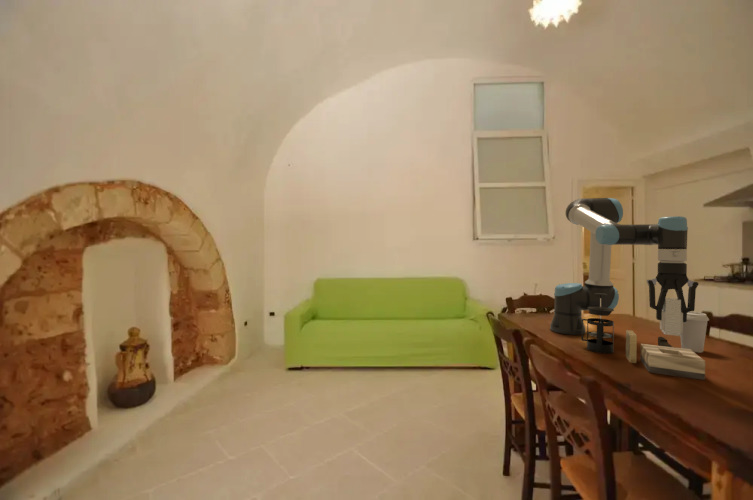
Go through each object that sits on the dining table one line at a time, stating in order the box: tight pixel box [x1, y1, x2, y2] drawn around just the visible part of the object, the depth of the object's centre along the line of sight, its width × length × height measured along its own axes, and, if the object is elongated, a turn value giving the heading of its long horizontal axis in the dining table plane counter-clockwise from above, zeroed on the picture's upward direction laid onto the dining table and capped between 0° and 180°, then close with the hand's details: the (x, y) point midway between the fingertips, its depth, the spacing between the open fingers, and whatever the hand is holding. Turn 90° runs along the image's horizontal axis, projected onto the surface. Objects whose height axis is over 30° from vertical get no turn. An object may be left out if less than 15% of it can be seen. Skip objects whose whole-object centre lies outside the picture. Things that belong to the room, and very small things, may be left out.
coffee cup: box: [679, 311, 710, 354], centre depth 139 cm, size 10×10×15 cm
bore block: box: [639, 343, 706, 381], centre depth 118 cm, size 14×14×6 cm
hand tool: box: [657, 336, 676, 348], centre depth 136 cm, size 19×4×5 cm, turn 151°
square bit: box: [661, 297, 681, 337], centre depth 117 cm, size 4×4×12 cm
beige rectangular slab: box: [625, 329, 638, 364], centre depth 128 cm, size 8×2×10 cm, turn 152°
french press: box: [581, 293, 615, 355], centre depth 139 cm, size 12×9×23 cm
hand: (670, 330), depth 117 cm, fingers closed on square bit, 4 cm apart
